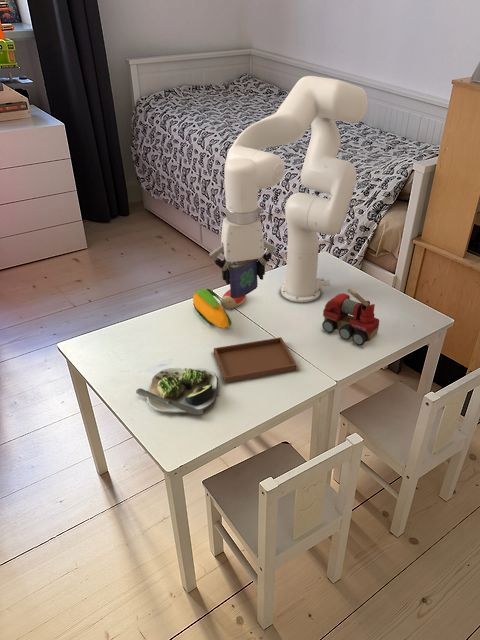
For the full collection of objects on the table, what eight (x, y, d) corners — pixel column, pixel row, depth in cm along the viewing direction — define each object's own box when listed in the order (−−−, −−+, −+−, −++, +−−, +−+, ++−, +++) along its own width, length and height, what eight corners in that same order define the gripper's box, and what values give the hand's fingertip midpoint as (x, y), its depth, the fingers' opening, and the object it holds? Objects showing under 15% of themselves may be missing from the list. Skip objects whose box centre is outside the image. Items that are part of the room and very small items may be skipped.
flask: (253, 283, 145) (252, 246, 138) (260, 287, 144) (261, 250, 137) (227, 296, 140) (226, 258, 133) (235, 300, 138) (234, 263, 131)
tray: (281, 342, 151) (281, 337, 150) (296, 370, 142) (296, 364, 141) (213, 353, 146) (213, 348, 145) (225, 383, 137) (224, 377, 136)
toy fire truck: (335, 317, 162) (340, 263, 151) (380, 336, 155) (389, 281, 144) (313, 333, 155) (317, 278, 144) (359, 354, 148) (367, 298, 137)
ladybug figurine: (216, 306, 164) (215, 296, 162) (231, 292, 171) (231, 282, 169) (235, 312, 163) (235, 302, 160) (250, 297, 170) (250, 287, 167)
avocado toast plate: (130, 419, 125) (127, 404, 123) (144, 371, 139) (142, 357, 136) (213, 420, 126) (212, 405, 123) (219, 372, 140) (218, 358, 137)
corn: (208, 278, 162) (239, 310, 149) (211, 300, 167) (241, 332, 154) (185, 286, 159) (214, 318, 146) (189, 307, 164) (218, 341, 151)
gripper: (272, 204, 133) (271, 268, 144) (202, 212, 128) (207, 277, 140) (281, 217, 128) (280, 282, 139) (209, 224, 123) (214, 291, 134)
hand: (243, 279), depth 139 cm, fingers closed on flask, 8 cm apart
